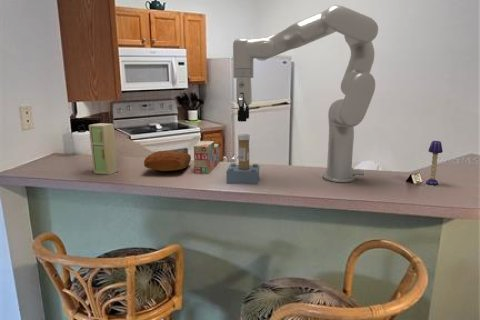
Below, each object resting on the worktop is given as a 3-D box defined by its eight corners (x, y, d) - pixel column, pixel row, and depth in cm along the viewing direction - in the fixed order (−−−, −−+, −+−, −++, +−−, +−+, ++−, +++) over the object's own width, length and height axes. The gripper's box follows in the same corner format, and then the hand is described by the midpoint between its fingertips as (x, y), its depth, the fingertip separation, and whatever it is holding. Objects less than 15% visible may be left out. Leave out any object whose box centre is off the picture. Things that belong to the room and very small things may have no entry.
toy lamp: (437, 186, 130) (443, 142, 127) (423, 184, 133) (429, 141, 129) (438, 183, 134) (444, 140, 131) (425, 181, 137) (430, 139, 133)
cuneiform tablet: (180, 177, 144) (179, 158, 142) (140, 176, 146) (139, 157, 144) (193, 164, 165) (193, 148, 163) (158, 164, 167) (158, 147, 165)
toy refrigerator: (92, 173, 150) (87, 124, 145) (104, 169, 157) (100, 122, 152) (106, 175, 147) (102, 125, 143) (118, 171, 154) (114, 123, 149)
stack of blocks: (207, 162, 171) (206, 137, 168) (219, 162, 170) (219, 137, 167) (194, 173, 150) (193, 145, 148) (208, 174, 149) (207, 145, 146)
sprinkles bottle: (251, 168, 138) (252, 134, 135) (242, 170, 135) (242, 135, 132) (245, 166, 142) (245, 133, 139) (235, 167, 139) (235, 134, 136)
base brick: (259, 177, 144) (259, 163, 142) (257, 184, 134) (257, 169, 133) (230, 176, 145) (230, 162, 144) (226, 183, 136) (226, 168, 134)
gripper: (251, 73, 122) (251, 122, 125) (255, 74, 138) (255, 117, 142) (229, 73, 122) (230, 122, 126) (236, 74, 139) (236, 117, 143)
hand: (243, 119), depth 134 cm, fingers open, 9 cm apart
